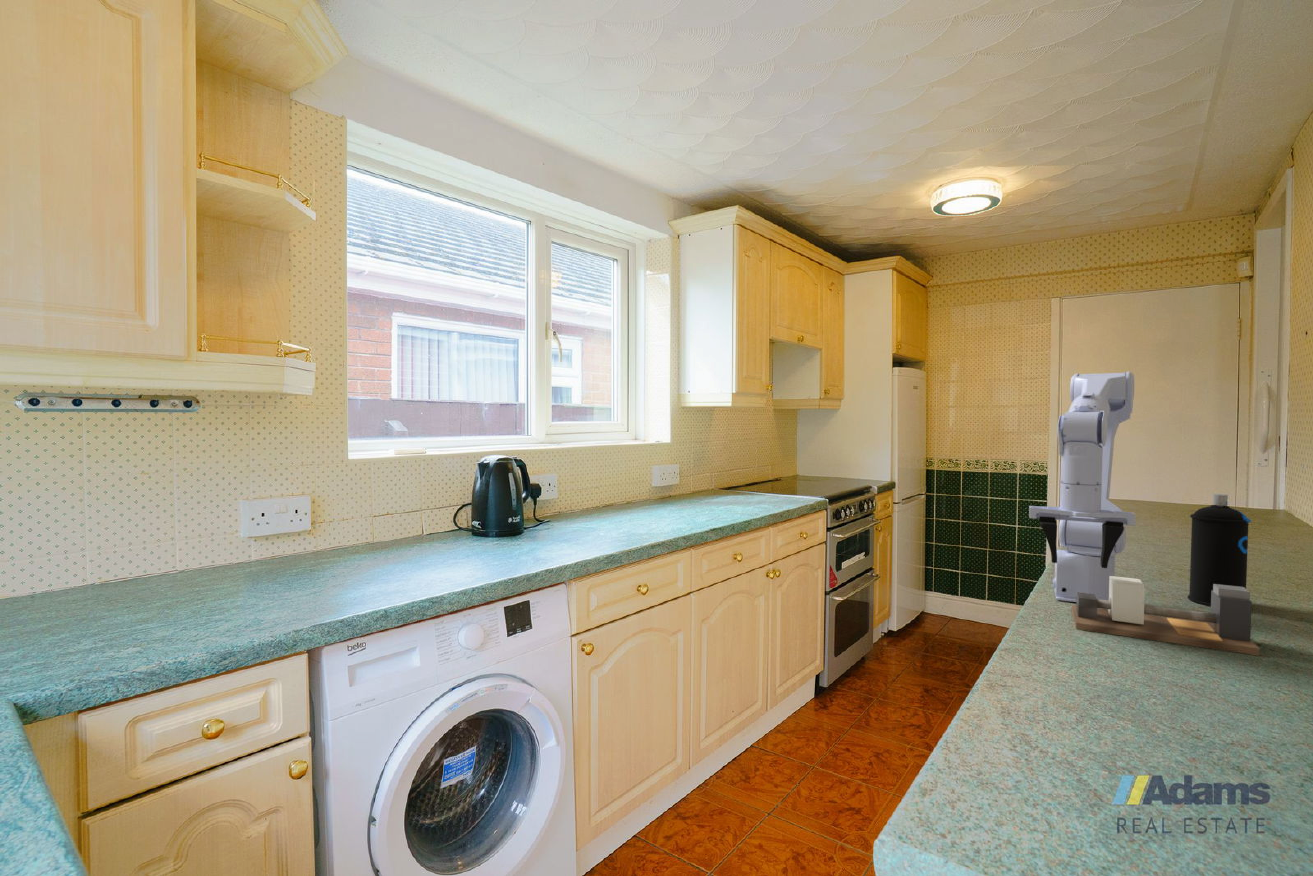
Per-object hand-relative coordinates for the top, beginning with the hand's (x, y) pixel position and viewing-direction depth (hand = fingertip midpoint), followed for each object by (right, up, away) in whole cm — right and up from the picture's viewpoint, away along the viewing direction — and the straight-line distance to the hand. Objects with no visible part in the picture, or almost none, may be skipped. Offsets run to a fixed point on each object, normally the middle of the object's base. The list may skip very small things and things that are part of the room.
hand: (1078, 564), depth 104 cm
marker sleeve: (+6, -8, -3) cm, 10 cm away
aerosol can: (+33, -9, +10) cm, 35 cm away
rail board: (+9, -10, -5) cm, 14 cm away
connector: (+17, -10, -9) cm, 21 cm away
